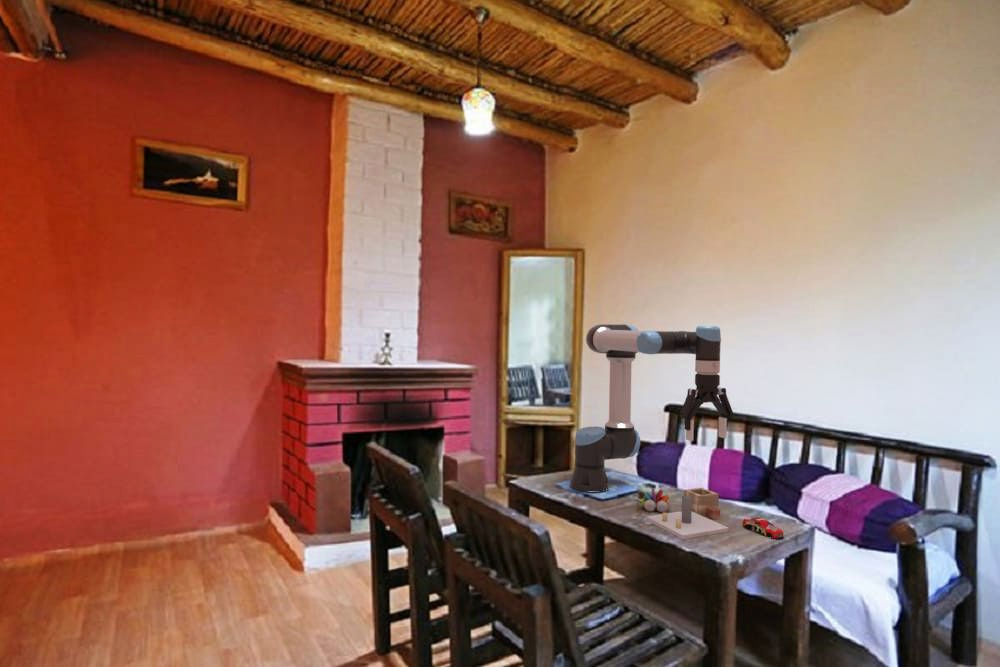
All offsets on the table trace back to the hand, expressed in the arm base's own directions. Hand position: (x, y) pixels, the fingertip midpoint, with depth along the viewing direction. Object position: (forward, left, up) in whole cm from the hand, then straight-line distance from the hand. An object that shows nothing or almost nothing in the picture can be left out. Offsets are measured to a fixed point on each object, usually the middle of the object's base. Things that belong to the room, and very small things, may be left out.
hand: (706, 438), depth 184 cm
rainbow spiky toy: (-18, -5, -28) cm, 34 cm away
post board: (-1, -6, -28) cm, 29 cm away
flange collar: (-8, +8, -28) cm, 30 cm away
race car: (+12, +13, -28) cm, 33 cm away
